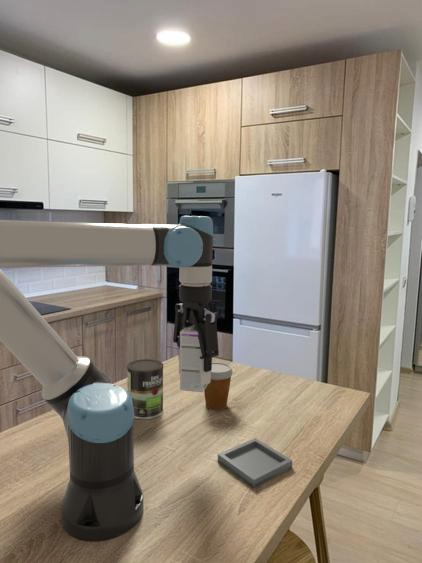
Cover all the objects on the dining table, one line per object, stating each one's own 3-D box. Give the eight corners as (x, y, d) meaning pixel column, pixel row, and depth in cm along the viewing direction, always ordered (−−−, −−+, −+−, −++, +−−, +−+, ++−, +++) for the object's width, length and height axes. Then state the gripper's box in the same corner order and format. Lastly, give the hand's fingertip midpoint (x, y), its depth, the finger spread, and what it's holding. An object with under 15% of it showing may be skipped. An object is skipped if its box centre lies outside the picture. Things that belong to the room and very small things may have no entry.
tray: (253, 487, 88) (253, 479, 87) (217, 461, 97) (217, 454, 97) (292, 467, 95) (292, 460, 95) (255, 444, 104) (255, 438, 104)
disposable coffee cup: (226, 414, 120) (227, 374, 118) (195, 409, 123) (196, 370, 121) (235, 401, 129) (236, 364, 127) (206, 396, 132) (207, 360, 130)
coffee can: (170, 412, 121) (170, 365, 119) (139, 423, 114) (139, 374, 112) (150, 400, 129) (150, 356, 126) (120, 410, 122) (120, 363, 120)
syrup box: (203, 393, 97) (204, 332, 95) (179, 390, 98) (179, 330, 96) (208, 383, 102) (210, 325, 100) (185, 381, 104) (186, 324, 101)
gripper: (237, 288, 91) (234, 388, 94) (184, 277, 107) (183, 363, 110) (210, 291, 86) (208, 396, 90) (158, 279, 102) (158, 368, 106)
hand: (194, 378), depth 100 cm, fingers closed on syrup box, 8 cm apart
